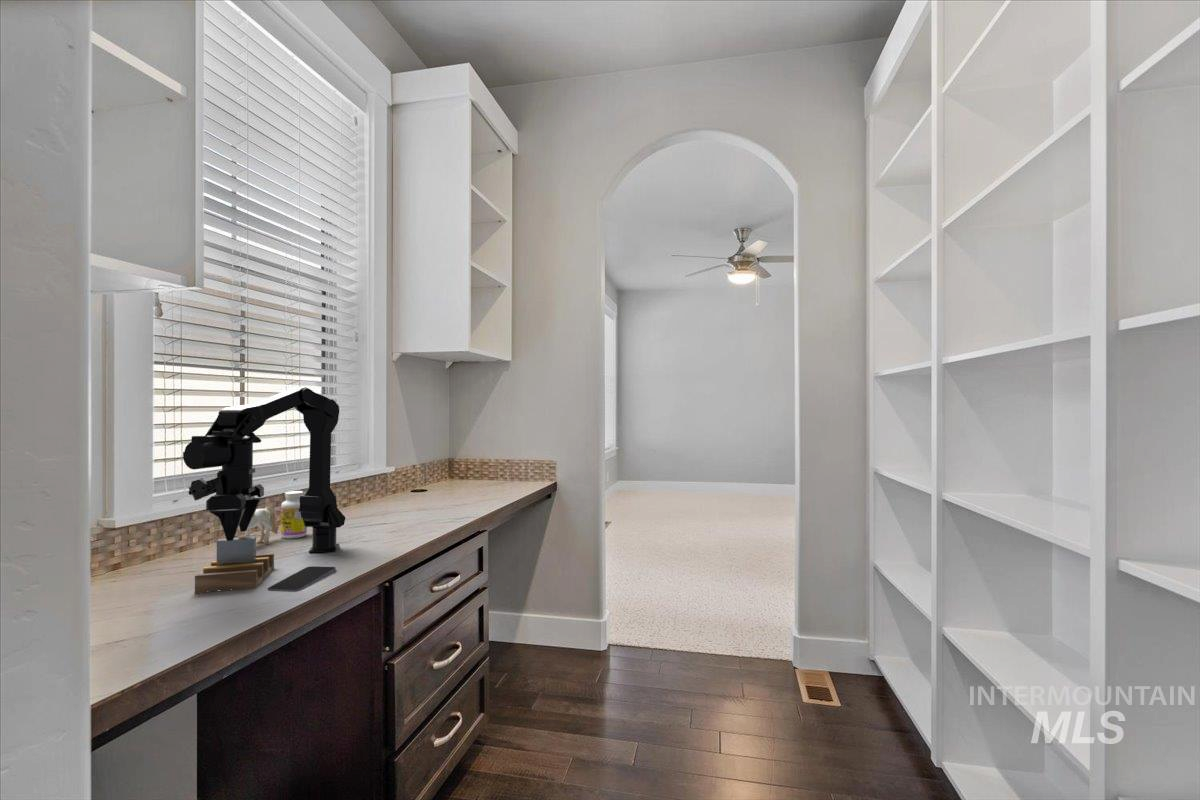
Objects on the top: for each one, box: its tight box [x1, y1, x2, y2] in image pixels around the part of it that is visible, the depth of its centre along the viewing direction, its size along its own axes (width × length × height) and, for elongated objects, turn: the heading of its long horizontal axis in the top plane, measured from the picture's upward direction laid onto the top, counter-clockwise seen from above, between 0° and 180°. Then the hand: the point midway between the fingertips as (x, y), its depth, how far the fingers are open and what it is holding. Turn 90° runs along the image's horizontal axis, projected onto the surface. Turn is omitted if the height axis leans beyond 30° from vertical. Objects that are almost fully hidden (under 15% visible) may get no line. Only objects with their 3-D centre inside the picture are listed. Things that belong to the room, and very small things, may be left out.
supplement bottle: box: [280, 490, 308, 540], centre depth 165 cm, size 7×7×13 cm
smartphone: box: [267, 565, 337, 592], centre depth 125 cm, size 7×1×15 cm
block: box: [216, 536, 257, 566], centre depth 125 cm, size 2×7×8 cm, turn 107°
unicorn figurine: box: [237, 506, 280, 546], centre depth 152 cm, size 7×20×13 cm, turn 6°
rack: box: [194, 552, 275, 594], centre depth 125 cm, size 15×11×4 cm
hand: (236, 535), depth 125 cm, fingers open, 9 cm apart
